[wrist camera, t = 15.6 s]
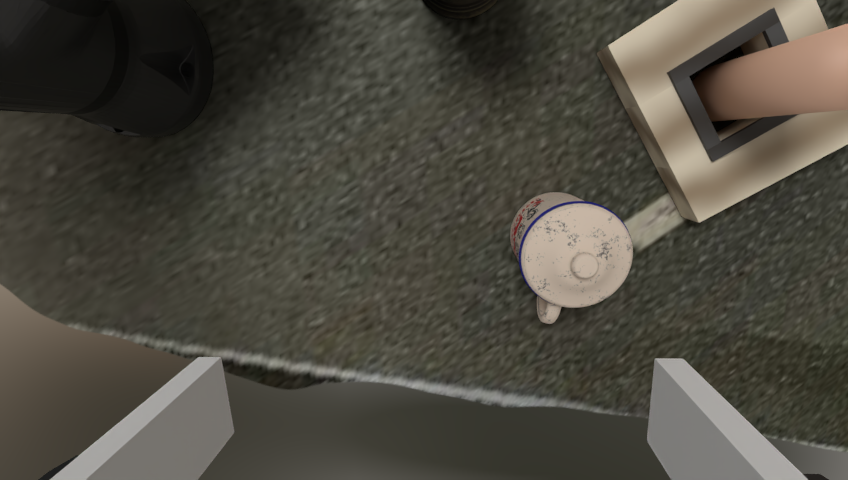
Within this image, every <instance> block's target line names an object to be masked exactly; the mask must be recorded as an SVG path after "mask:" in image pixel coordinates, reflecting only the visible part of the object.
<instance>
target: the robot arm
mask: <svg viewBox="0 0 848 480" xmlns="http://www.w3.org/2000/svg"><path fill="white" fill-rule="evenodd" d="M212 80H213V58H212V52H211V47H210V43H209V40H208V37H207V34H206V32H205V29H204V27H203V25H202V23H201V22H200V20H199V18H198V17H197V15H196V13H195V12H194V11H193V9H192V8H191V7H190V6H189V4H188V3H187V2H186V1H185V0H0V110H4V111H23V112H41V113H60V114H71V115H73V116H76V117H78V118H80V119H83V120H85V121H88V122H90V123H93V124H96V125H98V126H100V127H102V128H104V129H106V130H109V131H111V132H114V133H117V134H121V135H125V136H131V137H163V136H168V135H171V134H174V133H176V132H178V131H180V130H182V129H184V128H185V127H187V126H188V125H189V124H190V123H192V122H193V121H194V120H195V119H196V117H197V116H198V115H199V114H200V112H201V111H202V109H203V107H204V106H205V104H206V102H207V99H208V97H209V94H210V90H211V86H212ZM233 433H234V428H233V422H232V416H231V410H230V404H229V399H228V393H227V387H226V382H225V376H224V370H223V365H222V359H221V357H198V358H197V359H195V360H194V361H193V362H192V363H191V364H190V365H188V366H187V367H186V368H185V369H183V370H182V371H181V372H180V373H179V374H177V375H176V376H175V377H174V378H172V379H171V380H170V381H169V382H168V383H167V384H165V385H164V386H163V387H162V388H160V389H159V390H158V391H157V392H155V393H154V394H153V395H152V396H151V397H149V398H148V399H147V400H146V401H145V402H143V403H142V404H141V405H140V406H138V407H137V408H136V409H135V410H134V411H133V412H131V413H130V414H129V415H128V416H126V417H125V418H124V419H123V420H122V421H120V422H119V423H118V424H117V425H116V426H114V427H113V428H112V429H111V430H110V431H108V432H107V433H106V434H105V435H103V436H102V437H101V438H100V439H98V440H97V441H96V442H95V443H94V444H92V445H91V446H90V447H89V448H88V449H86V450H85V451H84V452H83V453H81V454H80V455H79V456H75V457H73V458H72V459H70V460H68V461H66V462H65V463H63V464H61V465H59V466H58V467H56V468H54V469H53V470H51V471H49V472H48V473H46V474H45V475H44V476H43V477H41V478H40V479H39V480H198V478H199V477H200V476H201V475H202V473H203V472H204V471H205V469H206V468H207V467H208V465H209V464H210V463H211V461H212V460H213V459H214V458H215V457H216V455H217V454H218V453H219V451H220V450H221V449H222V448H223V446H224V445H225V444H226V442H227V441H228V440H229V439H230V437H231V436H232V435H233ZM647 442H648V443H649V445H650V446H651V448H652V450H653V451H654V453H655V455H656V456H657V458H658V459H659V461H660V462H661V464H662V466H663V467H664V469H665V470H666V472H667V474H668V475H669V477H670V478H671V480H828V479H827V478H825V477H824V476H822V475H820V474H802V473H801V472H800V471H799V470H798V469H796V467H795V466H793V465H792V464H791V463H790V462H789V461H788V460H787V459H786V458H785V457H784V456H783V455H782V454H781V453H780V452H779V451H778V450H777V449H776V448H775V447H774V446H773V445H772V444H771V443H770V442H768V440H767V439H766V438H765V437H763V436H762V435H761V434H760V433H759V432H758V431H757V430H756V429H755V428H754V427H753V426H752V425H751V424H750V423H749V422H748V421H747V420H746V419H745V418H744V417H743V416H742V415H741V414H740V413H739V412H738V411H737V410H736V409H735V408H733V407H732V406H731V405H730V404H729V403H728V402H727V401H726V400H725V399H724V398H723V397H722V396H721V395H720V394H719V393H718V392H717V391H716V390H715V389H714V388H713V387H712V386H711V385H710V384H709V383H708V382H707V381H706V380H704V379H703V378H702V377H701V376H700V375H699V374H698V373H697V372H696V371H695V370H694V369H693V368H692V367H691V366H690V365H689V364H688V363H687V362H686V361H685V360H684V359H655V362H654V372H653V383H652V393H651V403H650V414H649V424H648V434H647Z"/></svg>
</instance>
